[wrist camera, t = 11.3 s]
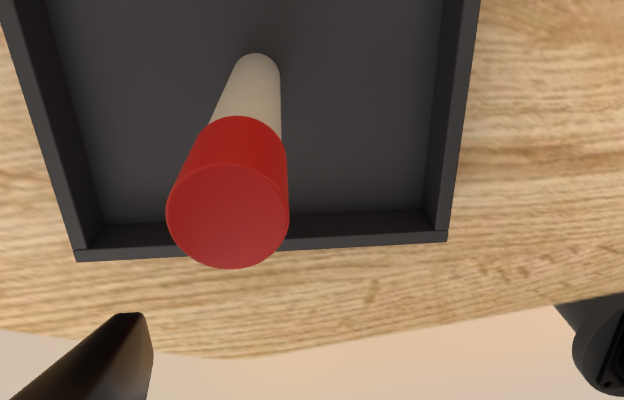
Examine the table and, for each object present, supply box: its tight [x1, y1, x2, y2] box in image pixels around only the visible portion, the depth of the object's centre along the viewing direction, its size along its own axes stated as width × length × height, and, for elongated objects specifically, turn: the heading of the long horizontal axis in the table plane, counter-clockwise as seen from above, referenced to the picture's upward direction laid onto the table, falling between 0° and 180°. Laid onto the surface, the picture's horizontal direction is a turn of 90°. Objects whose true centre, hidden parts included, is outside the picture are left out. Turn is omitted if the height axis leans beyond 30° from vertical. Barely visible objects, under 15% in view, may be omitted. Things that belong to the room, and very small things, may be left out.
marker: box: [165, 53, 289, 269], centre depth 12 cm, size 2×2×11 cm
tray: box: [0, 0, 481, 262], centre depth 16 cm, size 13×15×3 cm
